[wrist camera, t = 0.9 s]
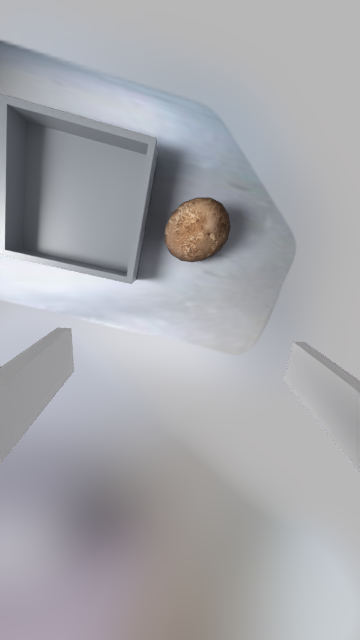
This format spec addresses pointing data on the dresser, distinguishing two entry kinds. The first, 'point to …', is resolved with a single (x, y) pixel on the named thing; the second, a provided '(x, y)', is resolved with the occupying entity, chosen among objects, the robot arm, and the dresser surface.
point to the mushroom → (197, 229)
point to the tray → (73, 190)
